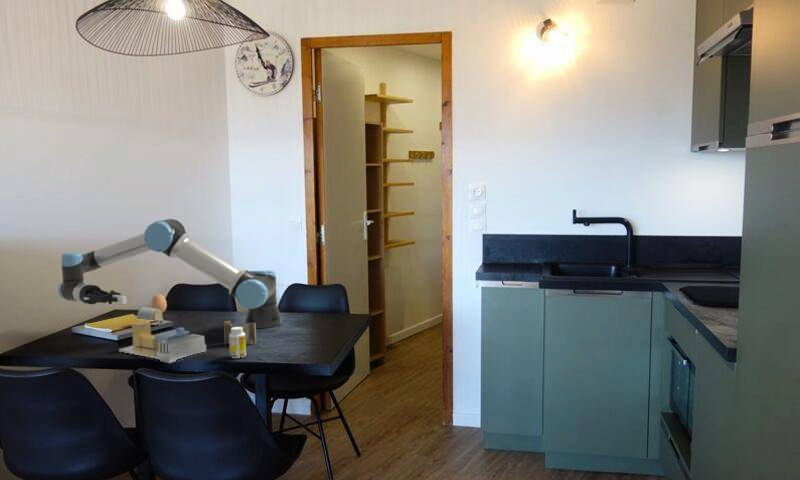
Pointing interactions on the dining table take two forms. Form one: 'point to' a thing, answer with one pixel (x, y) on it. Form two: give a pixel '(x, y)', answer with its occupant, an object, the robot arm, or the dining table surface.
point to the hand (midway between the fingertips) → (124, 300)
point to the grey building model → (171, 346)
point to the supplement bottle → (237, 342)
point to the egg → (159, 302)
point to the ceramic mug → (149, 314)
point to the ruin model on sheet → (247, 329)
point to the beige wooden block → (144, 335)
